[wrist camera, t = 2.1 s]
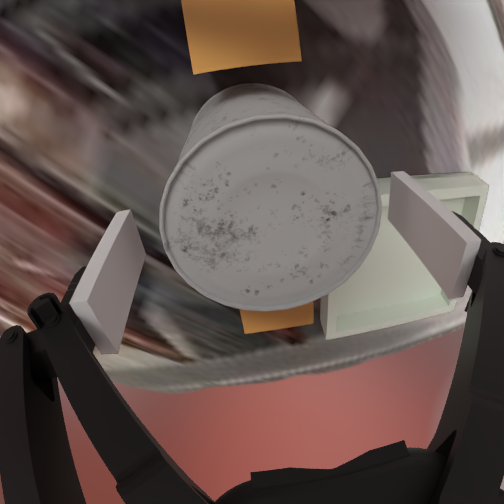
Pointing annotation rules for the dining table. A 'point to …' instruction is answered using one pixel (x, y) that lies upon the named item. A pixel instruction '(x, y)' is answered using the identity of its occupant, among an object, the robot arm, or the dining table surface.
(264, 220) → the grey cylinder
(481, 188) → the tray
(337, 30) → the dining table surface
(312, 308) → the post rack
